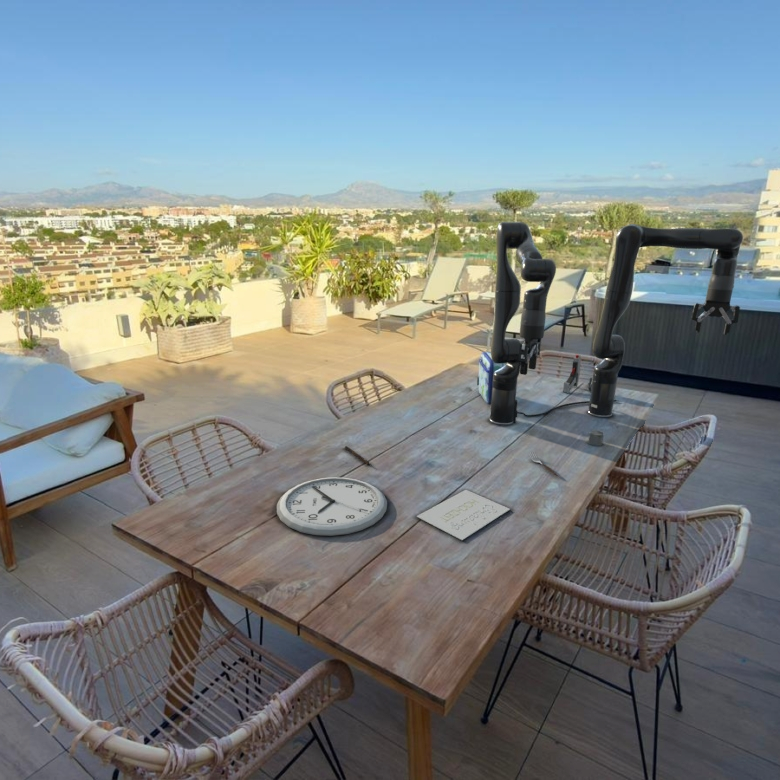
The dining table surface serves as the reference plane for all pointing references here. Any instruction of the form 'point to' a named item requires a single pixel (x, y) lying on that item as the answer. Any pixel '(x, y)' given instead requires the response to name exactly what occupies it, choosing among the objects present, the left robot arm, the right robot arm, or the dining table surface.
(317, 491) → the wall clock
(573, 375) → the toy gun
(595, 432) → the tin
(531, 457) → the fork
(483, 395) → the lunch box
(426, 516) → the invitation card
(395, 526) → the dining table surface
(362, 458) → the dark brown stick
